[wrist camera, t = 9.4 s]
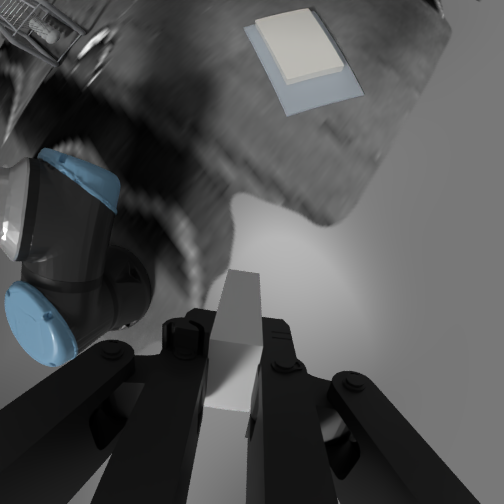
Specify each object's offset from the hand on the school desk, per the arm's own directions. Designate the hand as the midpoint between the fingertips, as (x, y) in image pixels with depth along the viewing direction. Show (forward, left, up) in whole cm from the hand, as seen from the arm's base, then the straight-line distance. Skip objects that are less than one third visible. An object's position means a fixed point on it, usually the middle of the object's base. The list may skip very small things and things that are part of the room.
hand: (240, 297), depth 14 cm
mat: (-1, +32, -31) cm, 45 cm away
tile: (+1, +28, -29) cm, 41 cm away
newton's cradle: (-64, +38, -31) cm, 81 cm away
